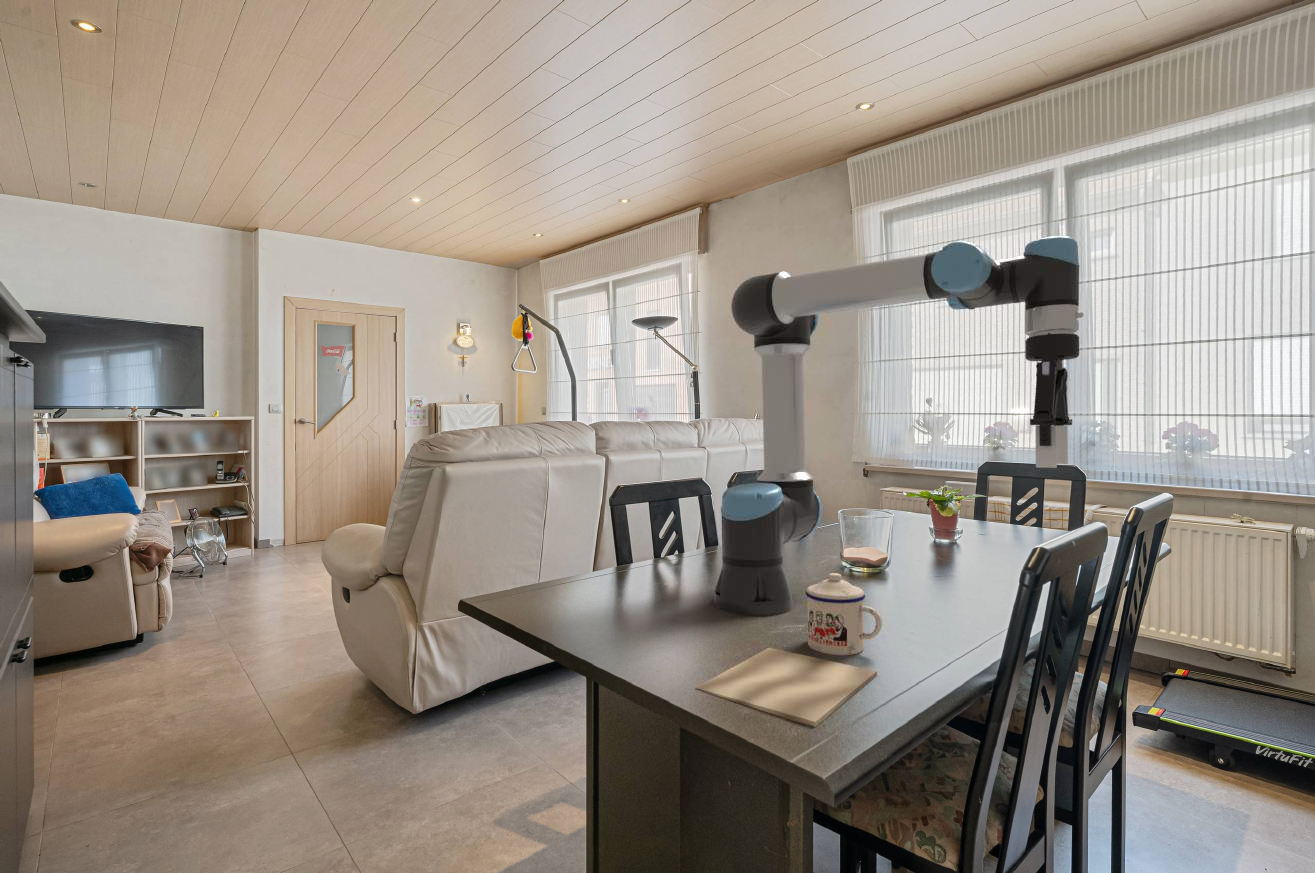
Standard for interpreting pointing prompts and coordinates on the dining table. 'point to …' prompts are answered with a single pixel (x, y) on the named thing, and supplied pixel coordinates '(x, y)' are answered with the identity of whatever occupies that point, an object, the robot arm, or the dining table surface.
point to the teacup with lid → (838, 617)
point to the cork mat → (790, 685)
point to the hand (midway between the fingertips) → (1052, 465)
